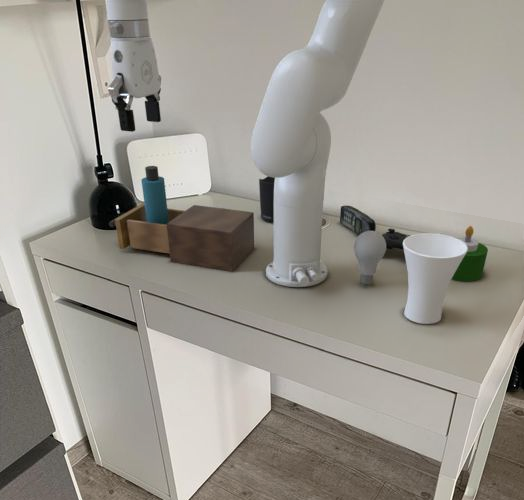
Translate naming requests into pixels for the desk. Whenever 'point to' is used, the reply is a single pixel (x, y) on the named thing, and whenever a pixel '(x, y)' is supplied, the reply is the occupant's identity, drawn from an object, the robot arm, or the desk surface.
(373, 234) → the lightbulb
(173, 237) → the cabinet
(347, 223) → the mobile phone
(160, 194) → the teal bottle
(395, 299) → the desk surface
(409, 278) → the cup
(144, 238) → the drawer
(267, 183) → the pen holder
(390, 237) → the gaming controller
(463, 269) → the candle
